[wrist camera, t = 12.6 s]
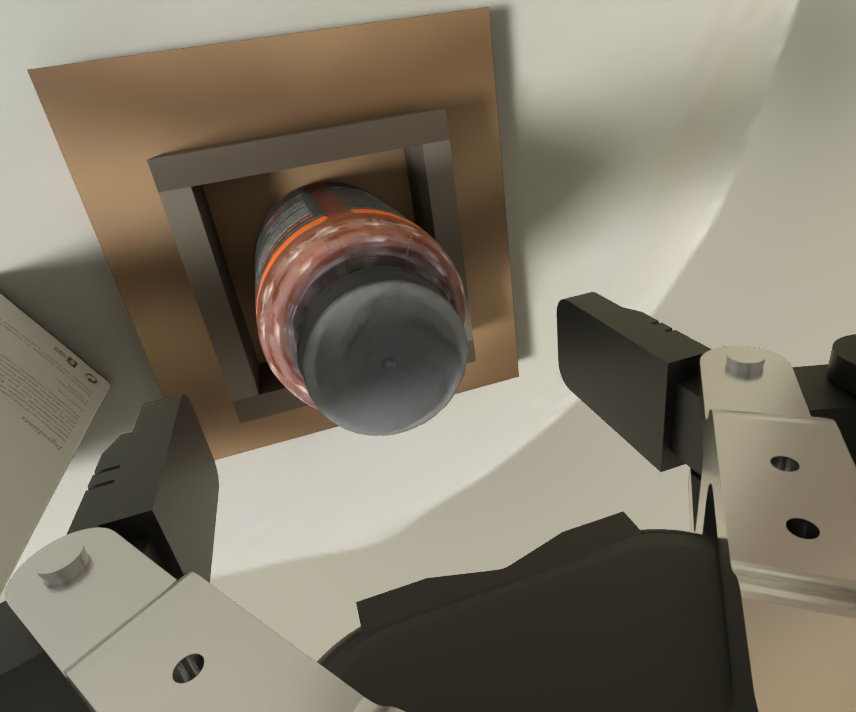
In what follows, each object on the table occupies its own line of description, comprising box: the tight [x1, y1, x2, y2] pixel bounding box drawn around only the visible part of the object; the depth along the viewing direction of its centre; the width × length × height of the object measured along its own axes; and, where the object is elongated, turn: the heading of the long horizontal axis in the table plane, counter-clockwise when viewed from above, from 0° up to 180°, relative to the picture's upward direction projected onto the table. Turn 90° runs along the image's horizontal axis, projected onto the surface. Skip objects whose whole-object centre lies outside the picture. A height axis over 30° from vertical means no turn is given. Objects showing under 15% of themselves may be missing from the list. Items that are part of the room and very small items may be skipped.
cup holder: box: [28, 7, 519, 460], centre depth 22 cm, size 16×16×4 cm
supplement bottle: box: [255, 181, 468, 436], centre depth 18 cm, size 6×6×11 cm
